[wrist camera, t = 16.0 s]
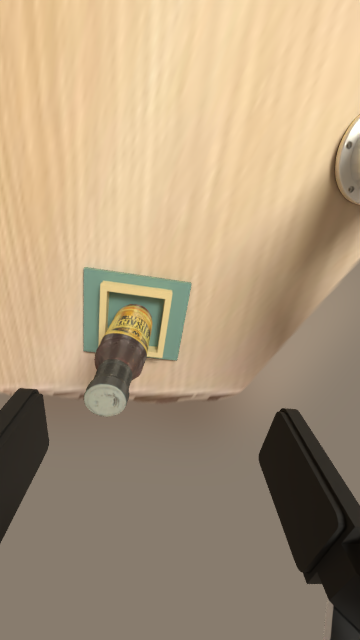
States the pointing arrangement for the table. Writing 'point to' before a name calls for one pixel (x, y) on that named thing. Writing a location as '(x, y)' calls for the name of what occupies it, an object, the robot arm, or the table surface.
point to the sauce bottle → (119, 360)
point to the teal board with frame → (153, 293)
